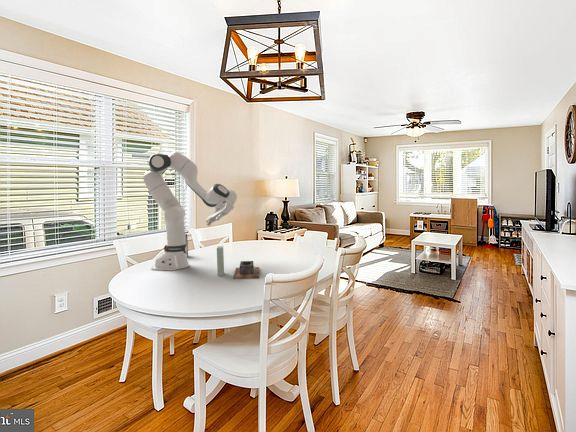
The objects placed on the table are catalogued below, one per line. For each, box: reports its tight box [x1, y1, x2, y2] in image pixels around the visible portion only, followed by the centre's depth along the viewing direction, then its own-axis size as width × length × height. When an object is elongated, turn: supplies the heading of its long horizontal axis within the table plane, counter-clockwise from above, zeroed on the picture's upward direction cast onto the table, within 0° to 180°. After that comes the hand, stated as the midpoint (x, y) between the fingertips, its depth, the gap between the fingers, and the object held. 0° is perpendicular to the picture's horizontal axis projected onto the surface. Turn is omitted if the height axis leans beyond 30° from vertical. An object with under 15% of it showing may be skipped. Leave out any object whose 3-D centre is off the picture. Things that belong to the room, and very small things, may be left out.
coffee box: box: [185, 233, 189, 257], centre depth 241 cm, size 9×6×16 cm
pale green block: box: [216, 245, 225, 277], centre depth 192 cm, size 3×6×16 cm, turn 4°
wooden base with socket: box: [233, 260, 260, 280], centre depth 194 cm, size 14×20×6 cm
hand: (212, 222), depth 202 cm, fingers open, 8 cm apart
